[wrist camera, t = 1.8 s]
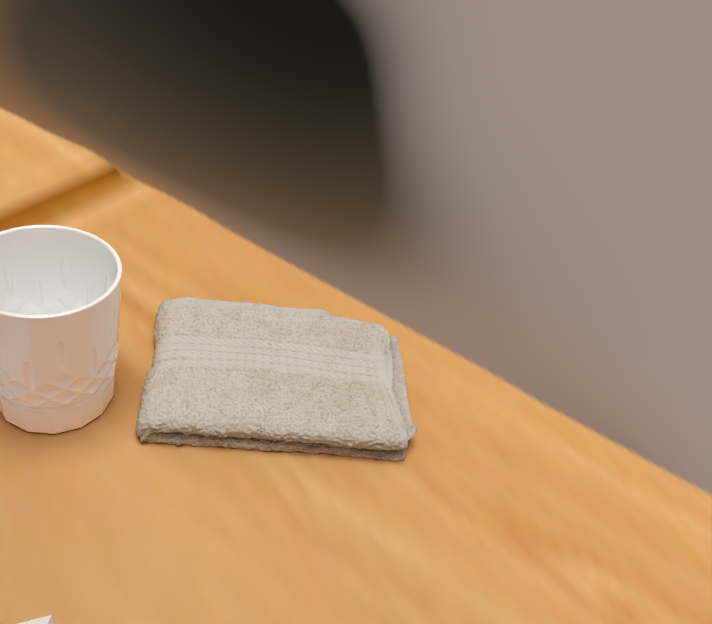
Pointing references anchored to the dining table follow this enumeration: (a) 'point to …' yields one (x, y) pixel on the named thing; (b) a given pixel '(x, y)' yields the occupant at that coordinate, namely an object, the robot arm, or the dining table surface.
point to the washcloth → (274, 381)
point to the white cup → (57, 326)
